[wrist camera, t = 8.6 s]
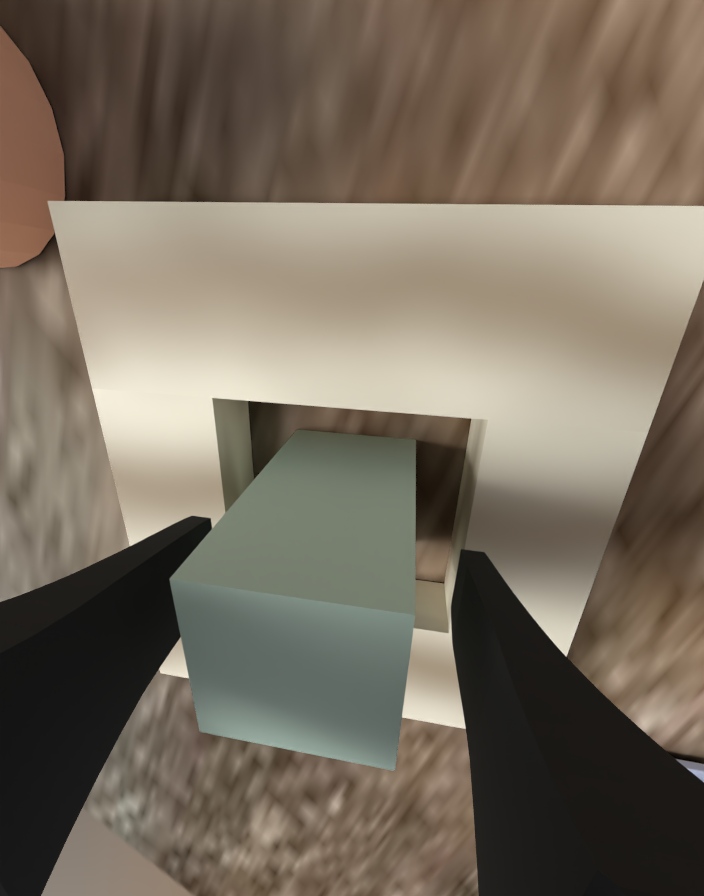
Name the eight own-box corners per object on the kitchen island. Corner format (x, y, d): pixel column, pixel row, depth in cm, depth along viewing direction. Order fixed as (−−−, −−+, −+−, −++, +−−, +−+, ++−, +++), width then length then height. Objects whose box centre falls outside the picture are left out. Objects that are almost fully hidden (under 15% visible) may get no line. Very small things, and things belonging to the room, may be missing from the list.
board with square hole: (519, 681, 17) (535, 741, 15) (190, 627, 19) (160, 672, 17) (659, 225, 10) (730, 206, 8) (116, 217, 12) (47, 200, 10)
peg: (405, 540, 15) (395, 770, 8) (299, 528, 16) (199, 731, 9) (415, 439, 14) (415, 614, 6) (296, 429, 14) (169, 579, 7)
